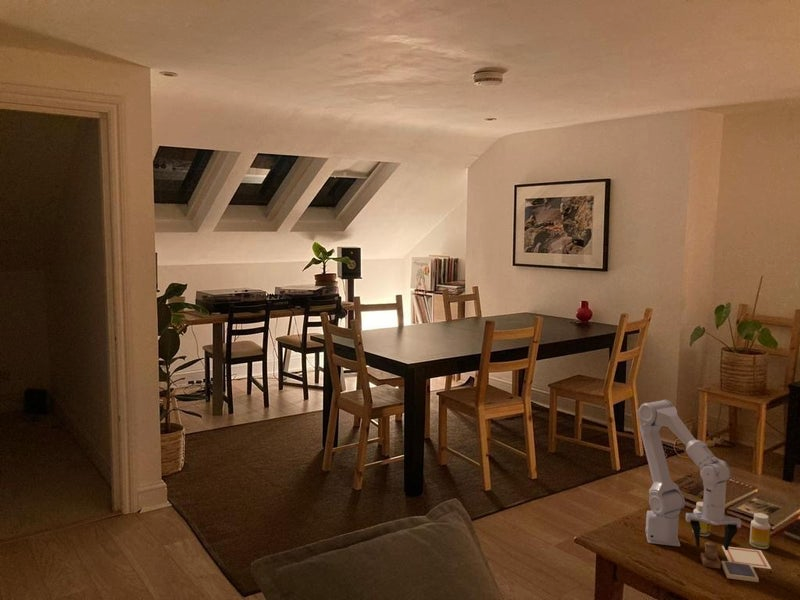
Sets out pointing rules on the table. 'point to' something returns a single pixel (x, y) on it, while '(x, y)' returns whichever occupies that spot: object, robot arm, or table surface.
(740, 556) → the print sheet
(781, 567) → the table surface
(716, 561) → the stamp
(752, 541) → the supplement bottle
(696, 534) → the robot arm
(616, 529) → the table surface
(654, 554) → the table surface
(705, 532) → the supplement bottle
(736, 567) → the ink pad
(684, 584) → the table surface
